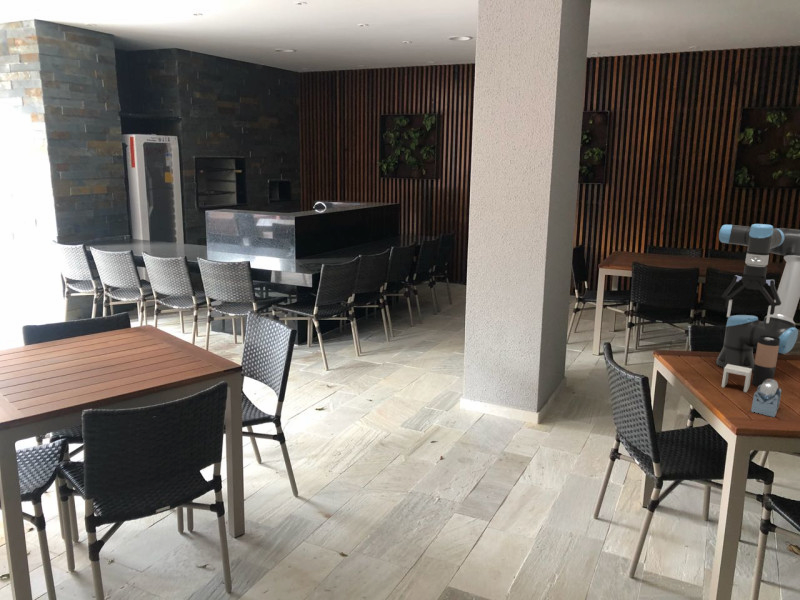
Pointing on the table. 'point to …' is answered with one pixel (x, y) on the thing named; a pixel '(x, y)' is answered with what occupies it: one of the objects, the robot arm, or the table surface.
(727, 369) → the u shaped block
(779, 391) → the v block
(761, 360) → the travel mug
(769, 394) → the axle
